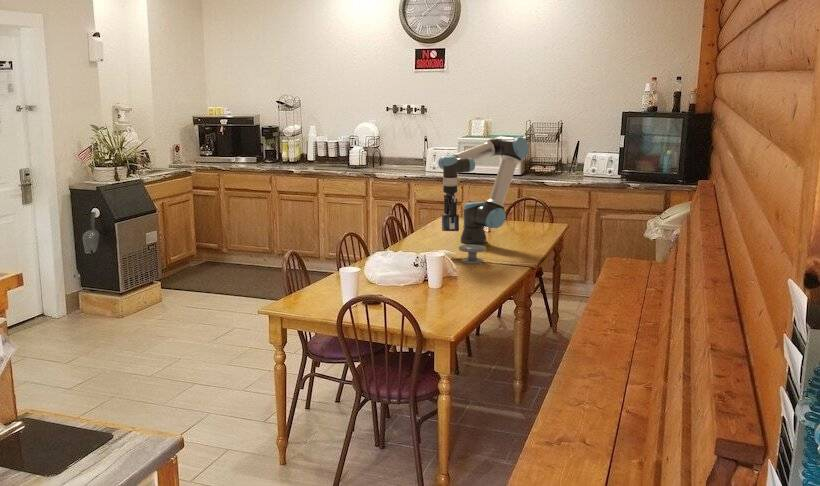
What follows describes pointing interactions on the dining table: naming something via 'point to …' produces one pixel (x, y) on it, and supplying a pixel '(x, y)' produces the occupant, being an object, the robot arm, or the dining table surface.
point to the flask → (447, 222)
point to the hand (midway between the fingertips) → (450, 227)
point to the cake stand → (472, 253)
